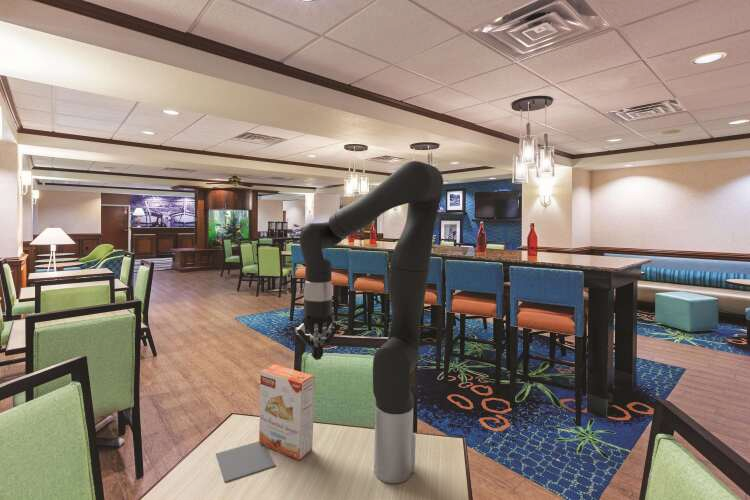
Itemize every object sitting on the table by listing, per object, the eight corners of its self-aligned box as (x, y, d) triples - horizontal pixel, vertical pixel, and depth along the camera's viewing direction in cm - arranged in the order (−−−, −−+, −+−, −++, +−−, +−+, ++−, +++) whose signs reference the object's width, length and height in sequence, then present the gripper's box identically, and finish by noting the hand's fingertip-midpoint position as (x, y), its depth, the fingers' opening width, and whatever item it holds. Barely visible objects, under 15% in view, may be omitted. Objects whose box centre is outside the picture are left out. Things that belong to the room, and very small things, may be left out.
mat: (262, 441, 107) (262, 440, 107) (275, 466, 97) (275, 465, 97) (215, 454, 101) (215, 453, 101) (224, 482, 91) (224, 481, 91)
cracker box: (257, 444, 105) (259, 369, 103) (273, 434, 110) (275, 362, 108) (298, 462, 98) (301, 382, 97) (313, 450, 104) (315, 374, 102)
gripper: (299, 302, 98) (299, 368, 100) (346, 297, 105) (344, 359, 107) (289, 296, 105) (289, 358, 106) (334, 292, 111) (333, 350, 113)
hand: (317, 358), depth 107 cm, fingers closed
